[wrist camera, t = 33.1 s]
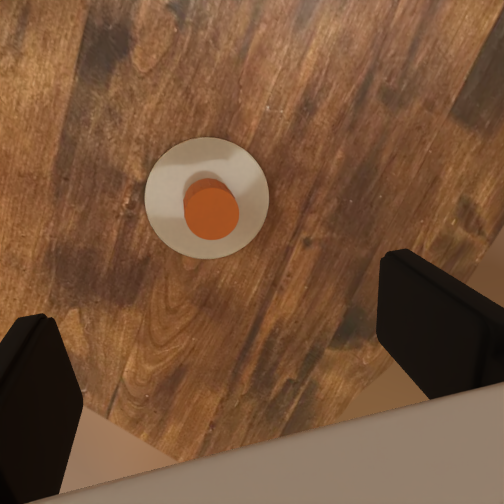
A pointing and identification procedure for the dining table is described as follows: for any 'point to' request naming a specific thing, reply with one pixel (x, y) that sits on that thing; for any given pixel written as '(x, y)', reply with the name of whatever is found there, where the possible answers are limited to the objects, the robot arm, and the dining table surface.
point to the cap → (210, 209)
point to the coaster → (196, 168)
